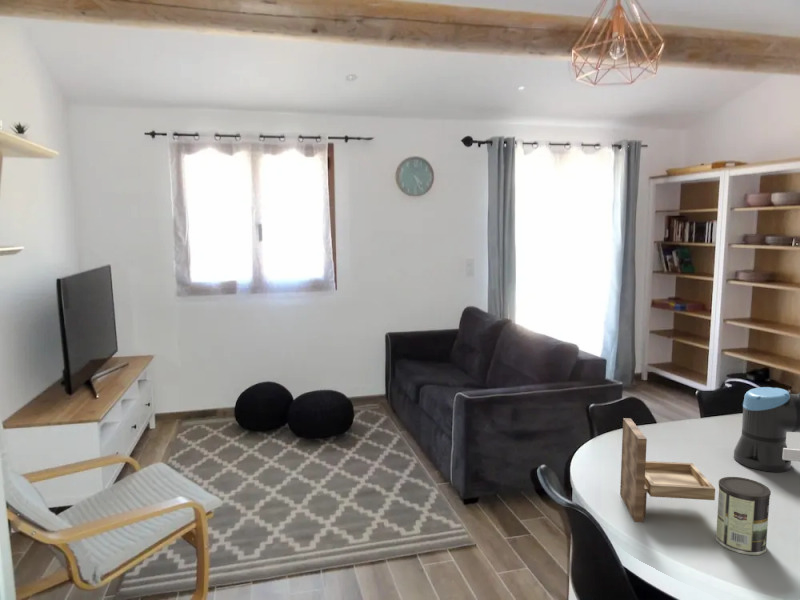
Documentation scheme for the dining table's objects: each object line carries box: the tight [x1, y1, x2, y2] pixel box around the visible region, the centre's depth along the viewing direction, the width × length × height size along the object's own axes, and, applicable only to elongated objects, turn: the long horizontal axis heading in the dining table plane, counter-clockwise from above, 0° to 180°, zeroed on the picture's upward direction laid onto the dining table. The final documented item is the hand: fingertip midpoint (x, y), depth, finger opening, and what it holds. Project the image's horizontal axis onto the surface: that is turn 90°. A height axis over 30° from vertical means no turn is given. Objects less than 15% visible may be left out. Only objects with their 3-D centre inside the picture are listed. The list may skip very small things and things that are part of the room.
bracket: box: [619, 417, 716, 523], centre depth 143 cm, size 15×18×22 cm
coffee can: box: [715, 476, 772, 556], centre depth 128 cm, size 10×10×14 cm
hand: (792, 465), depth 124 cm, fingers open, 13 cm apart
